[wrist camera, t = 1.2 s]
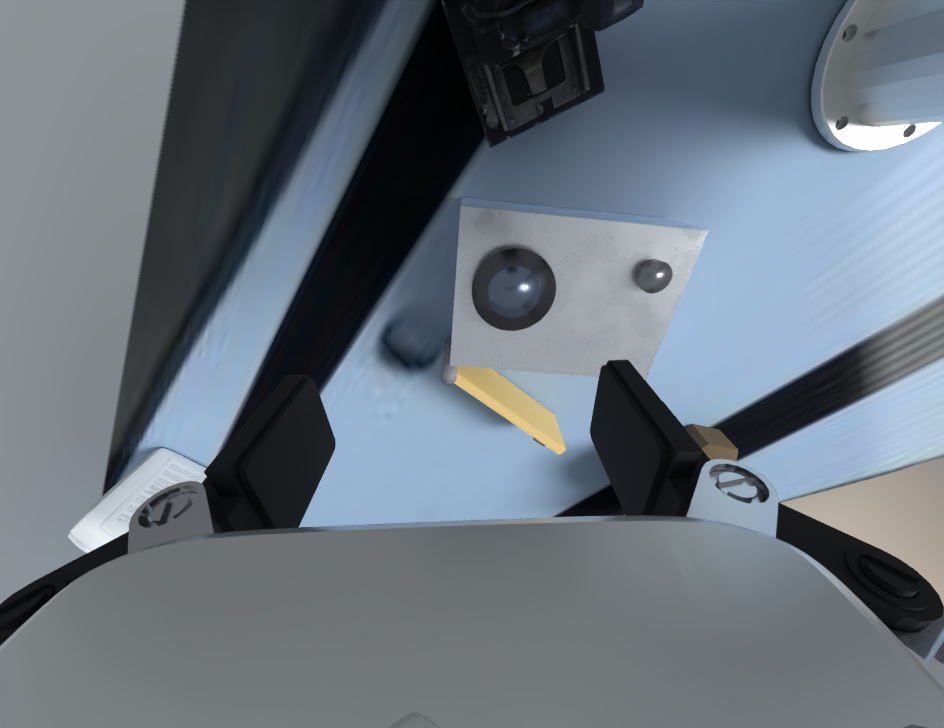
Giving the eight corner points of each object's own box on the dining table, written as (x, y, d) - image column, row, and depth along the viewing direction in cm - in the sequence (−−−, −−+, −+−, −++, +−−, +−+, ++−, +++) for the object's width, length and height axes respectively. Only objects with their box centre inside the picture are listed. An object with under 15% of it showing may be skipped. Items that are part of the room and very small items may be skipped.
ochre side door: (555, 412, 41) (569, 452, 35) (541, 424, 42) (552, 465, 36) (451, 335, 35) (447, 368, 30) (437, 350, 36) (431, 385, 31)
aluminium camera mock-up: (664, 217, 30) (718, 233, 23) (617, 348, 37) (650, 388, 30) (462, 197, 29) (459, 207, 22) (452, 335, 36) (449, 373, 29)
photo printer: (147, 458, 45) (47, 550, 34) (159, 441, 43) (58, 532, 33) (223, 494, 49) (154, 586, 38) (236, 479, 47) (169, 572, 36)
